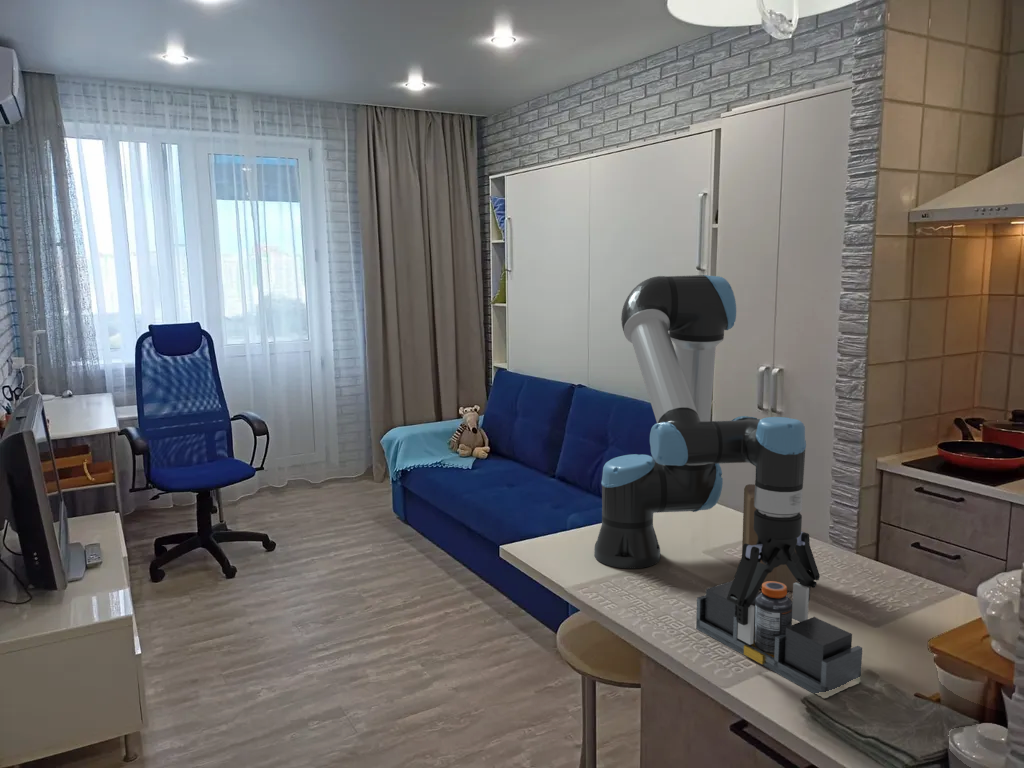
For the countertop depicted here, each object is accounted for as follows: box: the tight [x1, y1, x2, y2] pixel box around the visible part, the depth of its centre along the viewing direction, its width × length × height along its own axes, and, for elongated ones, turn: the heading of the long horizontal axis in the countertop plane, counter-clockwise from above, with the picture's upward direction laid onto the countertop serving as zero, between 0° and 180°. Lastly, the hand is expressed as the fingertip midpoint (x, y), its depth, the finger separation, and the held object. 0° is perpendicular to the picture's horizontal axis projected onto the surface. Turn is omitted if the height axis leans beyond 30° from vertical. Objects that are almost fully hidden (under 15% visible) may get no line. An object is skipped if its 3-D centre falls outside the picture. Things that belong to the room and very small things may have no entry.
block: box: [741, 483, 801, 592], centre depth 155 cm, size 10×10×20 cm
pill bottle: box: [755, 581, 793, 655], centre depth 126 cm, size 6×6×11 cm
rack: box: [695, 580, 863, 694], centre depth 126 cm, size 27×9×8 cm, turn 31°
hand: (773, 630), depth 126 cm, fingers open, 13 cm apart
